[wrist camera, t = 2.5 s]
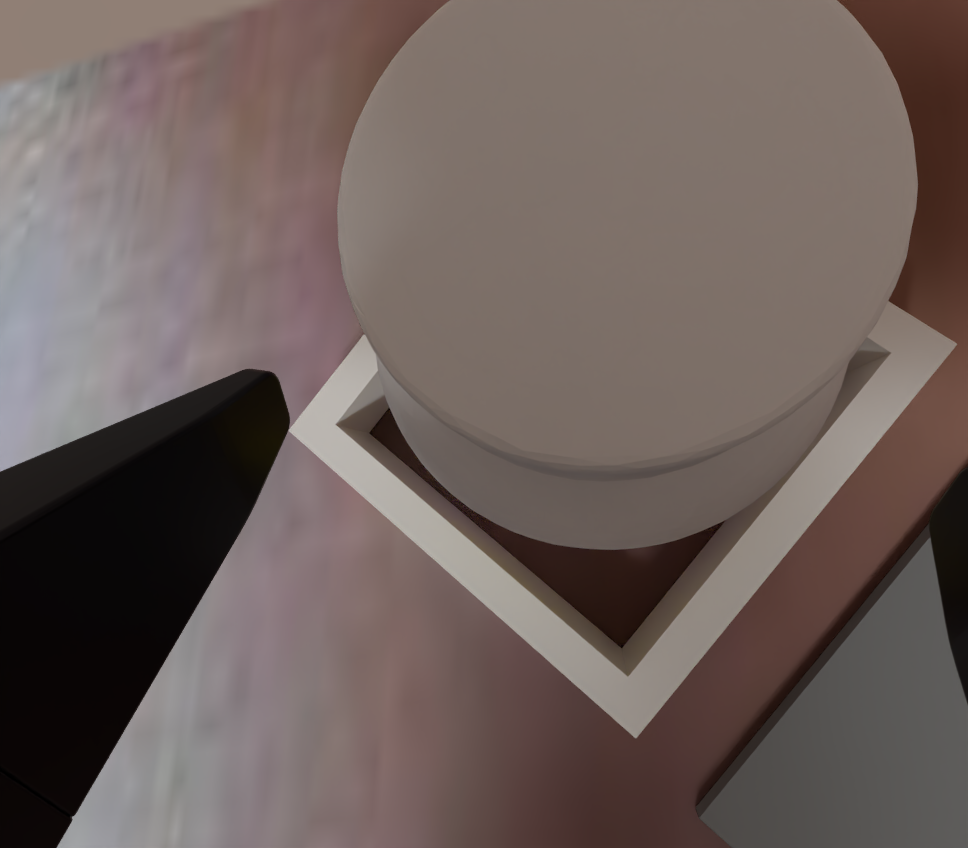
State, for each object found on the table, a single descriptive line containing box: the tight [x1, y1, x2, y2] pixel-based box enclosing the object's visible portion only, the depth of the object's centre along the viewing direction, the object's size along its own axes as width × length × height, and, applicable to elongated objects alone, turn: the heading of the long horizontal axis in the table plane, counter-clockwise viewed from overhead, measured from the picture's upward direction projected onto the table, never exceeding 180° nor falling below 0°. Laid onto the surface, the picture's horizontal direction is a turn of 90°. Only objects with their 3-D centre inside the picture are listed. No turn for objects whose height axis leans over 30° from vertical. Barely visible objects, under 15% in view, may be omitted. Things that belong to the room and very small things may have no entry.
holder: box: [289, 301, 957, 738], centre depth 16 cm, size 12×12×2 cm
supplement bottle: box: [337, 0, 918, 550], centre depth 11 cm, size 7×7×13 cm
